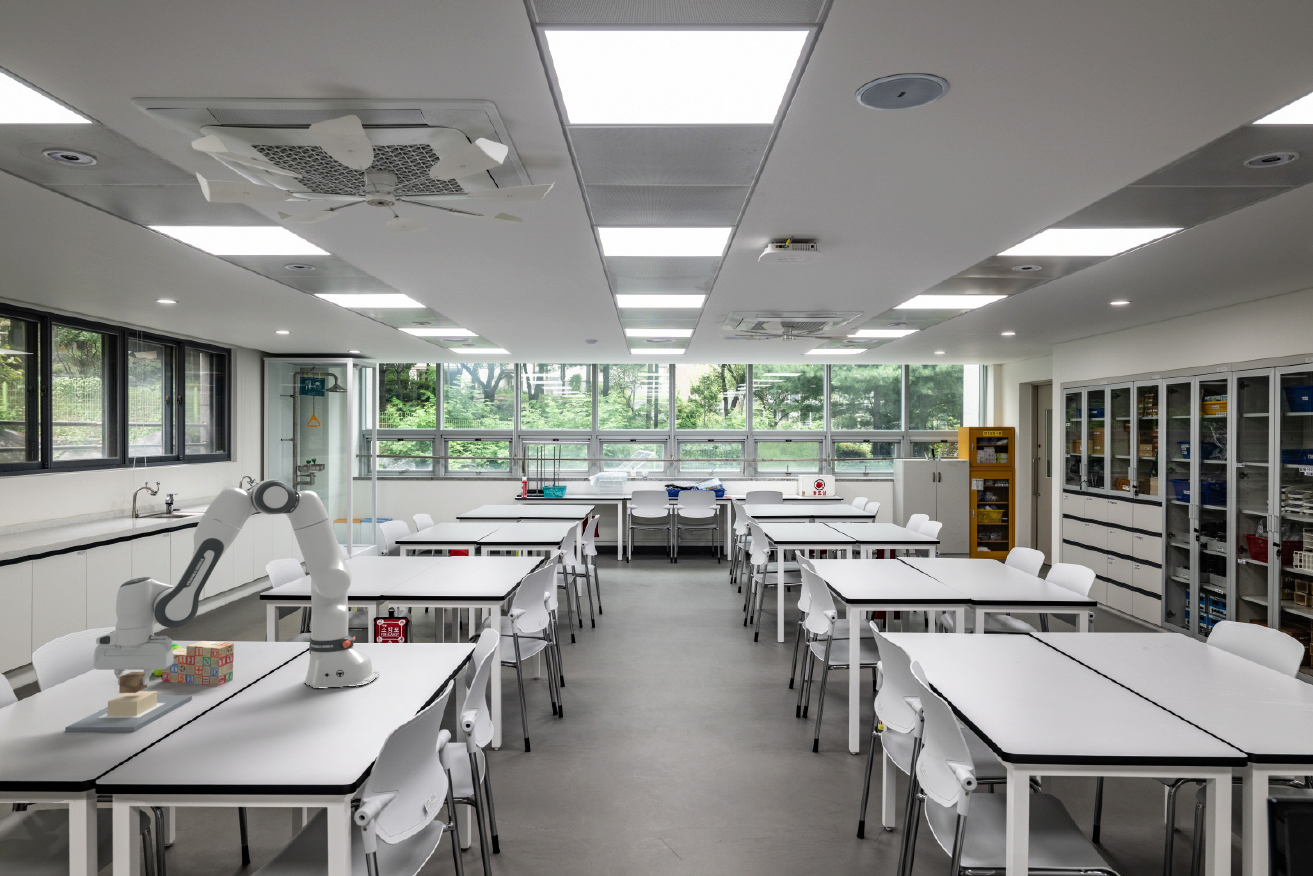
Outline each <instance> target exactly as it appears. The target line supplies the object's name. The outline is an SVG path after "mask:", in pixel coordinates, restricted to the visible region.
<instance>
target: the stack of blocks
mask: <svg viewBox="0 0 1313 876" xmlns="http://www.w3.org/2000/svg"><path fill="white" fill-rule="evenodd" d="M234 647H235V643H234V642H233V643H231V642H225V641H210V640H209V641H207V640H201V641H198V642H195V643H191V644H189V645H186V648H183V647H182V648H183V649H182V648H178V649H174V650H173V659H174V662H173V664H172V665H171V666H170V667H168V668H166V669H162V672H163V673H162V676H161V680H162V682H167V681H168V682H170V683H177V682H182V683H181V684H189V683H193V684H192V685H201V684H202V685H203V686H213V687H219V686H221V685H224V684H226V683H229V682H231V681H233V678H234V656H235V655H234V650H235V648H234ZM183 682H184V683H183ZM225 682H226V683H225Z"/></svg>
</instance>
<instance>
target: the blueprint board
mask: <svg viewBox="0 0 1313 876" xmlns="http://www.w3.org/2000/svg"><path fill="white" fill-rule="evenodd" d="M189 700H190V701H192V700H193V695H158V691H156V690H155V691H150V690H149V691H144V690H141V691H139V692H137V693H122V694H121V695H119V696H117V697H114V698H112V699H110V700H108V701H107V707H105V708H103V709H100V710H98V711H97V712H94V713H92V714H90V715H89V716H86V717H84V718H82V719H80V720H78V721H76V722H73V723H71V724H70V725H67V726H65V728H64V729H65V730H64V732H65V733H84V732H83V731H86V732H85V733H99V732H100V733H109V732H111V733H114V732H117V733H119V732H120V733H123V732H124V733H126V732H128V733H131V732H136V731H138V730H140V729H142V728H143V727H145V726H147V725H149V724H150V723H152V722H154V721H156V720H158V719H159V718H161V717H163V716H165V715H167V714H168V713H171V712H172V711H174V710H176V709H178V708H179V707H181V706H183V705H185V704H187V703H189V702H190V701H189ZM74 731H75V732H74ZM79 731H80V732H79ZM87 731H88V732H87Z"/></svg>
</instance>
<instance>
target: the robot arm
mask: <svg viewBox="0 0 1313 876" xmlns="http://www.w3.org/2000/svg"><path fill="white" fill-rule="evenodd" d="M256 513H261V514H264V515H280V514H281V515H283V514H285V516H287V518H288V520H289V521H290V524H291V526H292V530H293V533H294V536H295V539H296V541H297V544H298V546H299V549H300V552H301V554H302V557H303V560H304V563H305V566H306V568H307V570H308V573H309V576H310V581H311V583H310V584H311V585H310V590H311V591H310V592H311V593H310V595H311V597H310V598H311V599H310V600H311V601H310V603H311V627H310V628H311V637H310V638H309V646H308V647H309V655H310V656H309V662H308V670H307V672H306V677H305V679H304V684H305V683H306V685H307V686H309V685H310V686H309V687H311V688H312V687H313V688H319V687H340V688H344V687H343V686H349V685H357V684H363V683H366V682H370V681H371V680H373V679H374V678H376V677H377V675H378V673H379V674H380V672H379V670H377V669H373V667H372V666H373V663H372V660H371V658H370V656H369V655H368V654H366V653H364V652H363V651H361V650H360V649H358V648H357V647H356V646H355V645H354V642H355V640H356V636H353V637H352V636H351V635H350V634H349V605H348V604H349V601H348V600H349V599H348V597H349V596H348V590H349V588H350V586H351V584H352V574H351V573H350V570H349V568H348V564H347V562H346V559H345V557H344V554H343V551H342V549H341V546H340V544H339V542H338V538H337V535H336V533H335V530H334V528H333V525H332V522H331V519H330V517H329V514H328V511H327V510H326V507H325V505H324V503H323V502H322V499H321V498H320V496H319V495H318V493H317V492H315V491H313V490H306V489H305V490H300V491H297V490H295V489H294V488H293V487H292V486H290V485H289V484H288V483H287V482H284V481H282V480H279V479H274V478H273V479H271V478H270V479H265V480H261V481H260V482H258V483H256V484H254V485H253V486H251V487H249V488H247V489H246V490H245V489H243V488H240V487H233V486H232V487H227V488H224V489H223V490H222V491H220V493H219V494H218V495H217V496H216V497H215V498H214V500H212V502H211V503H210V505H209V506H208V507H207V509H206V511H205V512H204V514H203V515H202V516H201V518H200V519H199V522H198V524H197V525H196V529H195V531H194V534H193V552H192V556H191V559H190V561H189V563H188V565H187V566H186V568H185V570H184V572H183V573H182V575H181V577H180V579H179V581H178V582H177V584H176V585H173V584H168V583H164V582H161V581H158V580H156V579H153V578H152V577H150V576H149V577H148V576H143V577H138V578H132V579H130V580H127V581H125V582H123V583H122V584H121V585H120V586H119V588H118V589H117V595H116V600H115V601H116V603H115V613H116V618H117V621H116V623H115V630H113V631H110V632H109V633H106V634H103V635H101V636H97V638H95V644H96V645H97V646H95V649H94V654H93V667H94V668H95V669H96V670H97V671H98V670H99V671H100V670H103V671H104V670H105V671H106V670H108V671H109V670H111V671H112V670H113V674H114V675H115V676H116V677H115V678H116V679H117V681H118V682H117V685H118V686H119V685H120V677H121V676H123V675H125V673H124V672H125V670H126V671H127V670H128V671H129V670H134V671H135V670H138V671H139V670H143V672H144V673H146V674H145V675H144V677H143V678H141V679H140V685H146V684H147V685H149V683H150V677H151V676H152V674H154V673H153V671H154V669H166V668H168V667H170V666H171V665H172V664H173V662H174V659H173V650H172V644H173V639H171V638H170V637H168V635H155V621H156V622H157V623H158V624H159V625H161V626H162V627H165V628H169V629H175V628H176V629H178V628H181V627H184V626H186V625H188V624H189V623H191V622H192V621H193V619H195V618H196V616H197V614H198V610H199V601H200V596H201V593H202V591H203V589H204V587H205V585H206V584H207V581H208V580H209V578H210V576H211V575H212V572H213V571H214V569H215V568H216V566H217V564H218V562H219V561H220V560H221V558H222V557H223V555H224V554H225V553H226V551H227V550H228V549H229V548H230V546H232V543H234V541H235V540H236V538H237V537H238V535H239V534H240V532H241V530H243V527H244V525H245V523H246V522H247V520H248V519H249V518H250V517H251V516H252V515H254V514H256ZM313 688H312V689H313Z"/></svg>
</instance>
